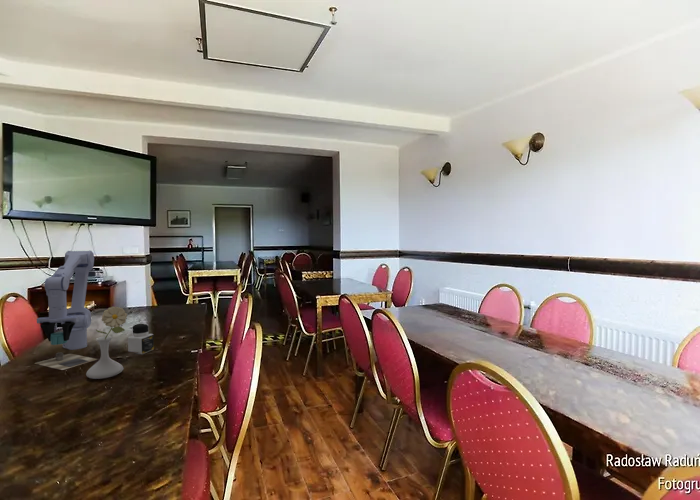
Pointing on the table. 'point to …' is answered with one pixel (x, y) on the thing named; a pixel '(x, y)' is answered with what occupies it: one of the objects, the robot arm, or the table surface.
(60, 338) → the cap
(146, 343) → the medicine bottle
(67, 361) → the board
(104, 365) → the flower in vase
